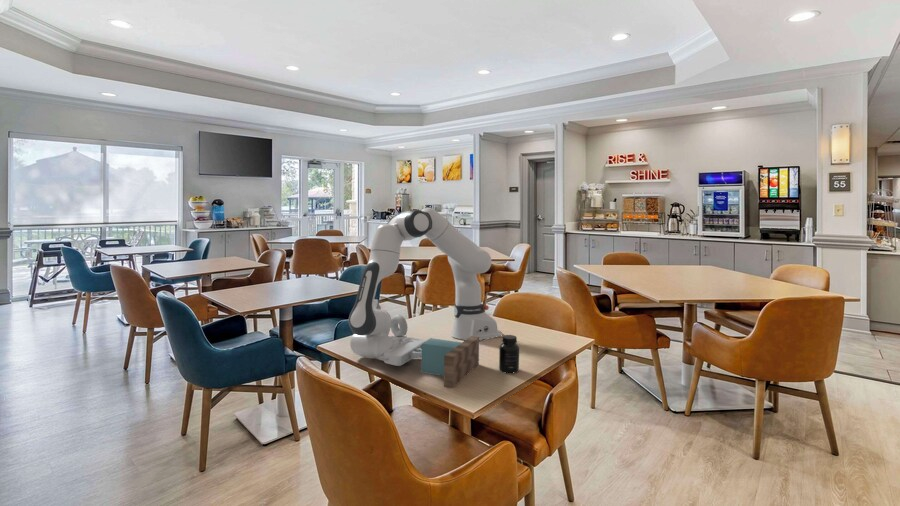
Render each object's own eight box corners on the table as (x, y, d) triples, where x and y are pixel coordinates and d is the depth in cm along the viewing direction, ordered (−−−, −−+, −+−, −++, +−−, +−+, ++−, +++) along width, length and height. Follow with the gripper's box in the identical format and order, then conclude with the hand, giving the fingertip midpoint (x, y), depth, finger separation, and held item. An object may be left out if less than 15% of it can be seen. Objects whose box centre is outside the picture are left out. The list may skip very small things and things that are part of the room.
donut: (388, 335, 202) (388, 313, 201) (395, 334, 204) (395, 312, 203) (402, 341, 194) (402, 317, 193) (409, 339, 197) (409, 316, 196)
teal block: (421, 372, 159) (421, 343, 158) (430, 365, 165) (430, 338, 164) (454, 377, 154) (454, 348, 153) (461, 370, 160) (462, 342, 159)
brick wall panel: (470, 363, 168) (471, 336, 167) (478, 364, 167) (479, 337, 166) (443, 386, 146) (444, 355, 145) (452, 388, 145) (453, 356, 144)
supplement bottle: (497, 367, 165) (498, 333, 163) (516, 366, 165) (517, 333, 164) (501, 374, 158) (501, 339, 156) (520, 373, 158) (521, 339, 157)
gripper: (375, 348, 157) (412, 354, 152) (405, 333, 176) (438, 338, 170) (375, 367, 158) (412, 373, 152) (405, 349, 176) (438, 355, 171)
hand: (426, 354), depth 161 cm, fingers closed, pressing on teal block
